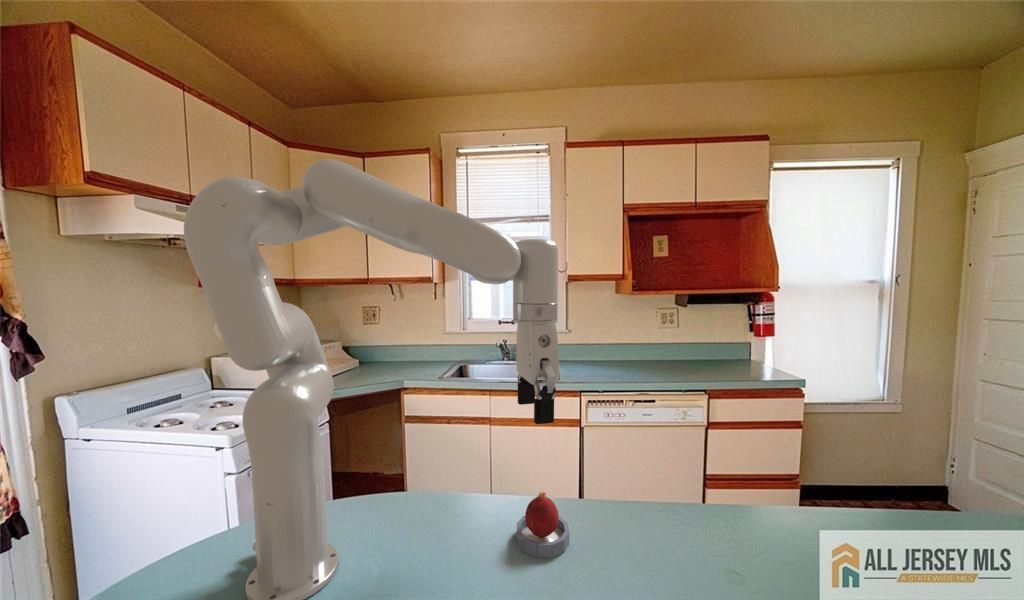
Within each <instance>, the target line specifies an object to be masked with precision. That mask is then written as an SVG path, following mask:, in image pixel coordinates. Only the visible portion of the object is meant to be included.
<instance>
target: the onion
mask: <svg viewBox="0 0 1024 600" xmlns="http://www.w3.org/2000/svg"><path fill="white" fill-rule="evenodd" d="M546 495H547V493H546V492H544V491H543V490H542V491H539V494H538V496H536V497H535V498H533V499H532V500H530V501H529V503H528V505H527V507H526V511H525V514H524V516H525V519H526V524H527V527H528V528H529V530H530V531H531V532H532V533H533V534H534V535H536V536H538V537H540V538H544V537H547V536H549V535H550V534H551V533H553V532H554V530H555V529H556V527H557V526H558V521H559V516H560V515H559V512H558V511H559V510H558V508H557V506H556V504H555V502H554V501H553V500H552V499H551V498H549V497H548V496H546Z"/></svg>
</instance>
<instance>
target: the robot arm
mask: <svg viewBox="0 0 1024 600" xmlns="http://www.w3.org/2000/svg"><path fill="white" fill-rule="evenodd" d="M301 183H302V186H298V187H294V188H290V189H287V190H283V191H279V190H277V189H275V188H274V187H271V186H269V185H267V184H265V183H263V182H261V181H258V180H256V179H252V178H249V177H244V176H228V177H224V178H221V179H217V180H215V181H213V182H210V183H209V184H207V185H206V186H204V188H203V189H201V190H200V191H199V192H198V194H196V196H195V197H194V198H193V199H192V201H191V202H190V204H189V206H188V207H187V208H188V209H187V210H186V213H185V216H184V222H183V236H184V237H183V238H184V243H185V247H186V251H187V253H188V255H189V259H190V261H191V263H192V266H193V269H194V270H195V272H196V275H197V277H198V280H199V282H200V284H201V286H202V290H203V291H204V294H205V297H206V300H207V303H208V306H209V308H210V311H211V313H212V316H213V319H214V322H215V324H216V327H217V329H218V331H219V334H220V337H221V340H222V343H223V345H224V347H225V350H226V352H227V354H228V356H229V358H230V360H231V361H232V362H233V363H234V364H235V365H237V366H238V367H239V368H240V369H243V370H246V371H253V372H254V371H255V372H261V371H264V370H266V374H267V375H268V378H267V379H266V380H265V381H263V382H261V383H260V384H259V385H258V386H257V387H256V388H255V389H254V390H253V391H252V393H251V394H250V396H249V397H248V399H247V400H246V402H245V405H244V408H243V413H242V429H243V432H244V436H245V440H246V444H247V447H248V454H249V460H250V470H251V483H252V484H251V487H252V499H253V515H254V516H253V519H254V532H255V542H254V543H253V544H252V550H253V551H255V553H256V555H255V556H256V566H255V568H254V569H253V570H251V572H250V573H249V575H248V577H247V579H246V582H245V597H246V599H247V600H306V599H307V598H310V597H311V596H313V595H315V594H316V593H317V592H319V591H320V590H322V588H324V587H325V586H326V585H327V584H328V583H329V582H330V581H331V579H332V578H333V577H335V574H336V572H337V571H338V568H339V565H340V564H339V563H340V562H339V561H340V560H339V559H340V558H339V551H338V550H337V548H336V547H335V546H333V545H332V544H330V543H328V529H327V527H328V526H327V505H326V503H327V501H326V500H327V499H326V482H325V481H326V480H325V478H326V477H325V460H324V451H323V450H324V449H323V441H322V437H321V433H320V425H319V423H320V422H319V421H320V416H321V415H322V413H323V411H324V410H325V409H326V408H327V406H328V405H329V403H330V402H331V400H332V397H333V394H334V390H335V389H334V388H335V384H334V378H333V375H332V371H331V369H330V366H329V363H328V360H327V356H326V355H325V352H324V349H323V347H322V344H321V342H320V338H319V335H318V333H317V330H316V327H315V325H314V323H313V321H312V319H311V318H310V317H309V315H308V314H307V313H306V312H305V311H304V310H303V309H302V308H300V306H297V305H295V304H292V303H289V302H285V301H284V302H283V300H282V299H281V296H280V293H279V291H278V289H277V287H276V284H275V279H274V277H273V274H272V272H271V270H270V267H269V266H268V264H267V263H266V261H265V259H264V257H263V256H262V254H261V251H260V246H259V243H260V244H266V245H270V246H282V245H289V244H293V243H296V242H299V241H304V240H306V239H309V238H313V237H316V236H319V235H324V234H327V233H330V232H334V231H336V230H339V229H342V228H347V227H349V228H352V229H354V230H356V231H358V232H360V233H363V234H365V235H368V236H370V237H372V238H374V239H376V240H379V241H381V242H383V243H385V244H388V245H389V246H392V247H394V248H397V249H400V250H402V251H405V252H408V253H413V254H417V255H423V256H426V257H429V258H431V259H434V260H436V261H439V262H441V263H444V264H446V265H448V266H451V267H452V268H455V269H458V270H460V271H462V272H464V273H467V274H469V275H470V276H471V277H472V278H473V279H474V280H476V281H478V282H479V283H483V284H488V285H489V284H490V285H502V284H506V283H507V282H511V281H512V302H513V303H512V323H515V324H517V327H516V343H515V344H516V345H515V346H516V348H515V349H516V350H515V351H516V352H515V353H516V355H515V356H516V358H515V360H516V361H515V362H516V363H515V364H516V365H515V366H516V371H517V372H518V374H517V404H518V405H523V406H524V405H531V404H532V405H533V423H534V424H535V425H543V424H553V423H554V422H555V398H556V394H555V393H556V391H557V389H556V384H558V383H559V382H560V359H559V358H560V357H559V356H560V355H559V354H560V353H559V339H558V332H557V326H556V324H558V312H559V311H558V302H559V301H558V300H559V298H558V297H559V296H558V295H559V294H558V293H559V292H558V289H559V285H558V283H559V248H558V245H557V243H556V242H555V241H553V240H552V239H551V240H550V239H541V238H540V239H539V238H536V239H535V238H532V239H529V238H528V239H521V240H518V241H517V242H515V241H514V240H513V239H512V238H511V237H510V236H508V235H507V234H504V233H503V232H501V231H499V230H497V229H495V228H492V227H490V226H489V225H486V224H484V223H482V222H480V221H477V220H476V219H474V218H472V217H469V216H468V215H465V214H462V213H459V212H458V211H455V210H452V209H449V208H446V207H444V206H441V205H438V204H436V203H434V202H431V201H430V200H426V199H423V198H421V197H418V196H416V195H414V194H412V193H410V192H408V191H406V190H403V189H401V188H399V187H397V186H395V185H393V184H390V183H388V182H386V181H384V180H382V179H380V178H378V177H376V176H374V175H372V174H370V173H368V172H365V171H363V170H362V169H359V168H356V167H355V166H354V165H353V166H352V165H350V164H348V163H346V162H343V161H340V160H337V159H333V158H324V159H320V160H317V161H316V162H313V163H312V164H311V165H310V166H308V168H307V169H306V171H305V172H304V174H303V177H302V182H301ZM540 386H542V388H541V387H540Z"/></svg>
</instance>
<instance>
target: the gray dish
mask: <svg viewBox="0 0 1024 600" xmlns="http://www.w3.org/2000/svg"><path fill="white" fill-rule="evenodd" d="M569 545H570V530H569V525H568V522H567V521H566V520H565V519H564V518H562V516H560V515H559V521H558V526H557V527H556V529H555V530H554V532H553V533H551V534H550V535H549V536H547V537H544V538H540V537H538V536H536V535H534V534H533V533H532V532H531V531H530V530H529V528H528V527H527V524H526V519H525V515H523V516H521V518H520V519H519V520H518V521H516V546H518V547H519V549H520V550H521V551H522V552H523V553H524V554H526V555H528V556H531V557H532V558H533V557H534V558H536V559H553V558H555V557H557V556H560V555H561V554H564V553H565V552H566V550H567V549H568V547H569Z"/></svg>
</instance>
